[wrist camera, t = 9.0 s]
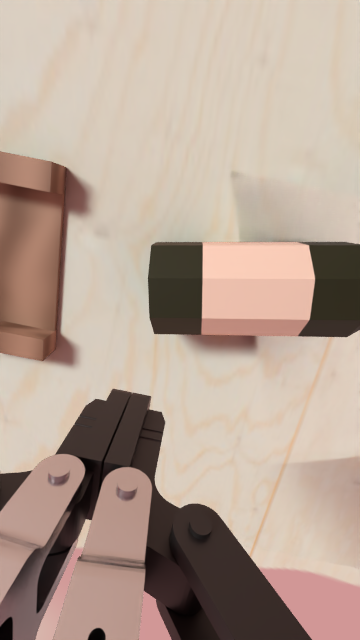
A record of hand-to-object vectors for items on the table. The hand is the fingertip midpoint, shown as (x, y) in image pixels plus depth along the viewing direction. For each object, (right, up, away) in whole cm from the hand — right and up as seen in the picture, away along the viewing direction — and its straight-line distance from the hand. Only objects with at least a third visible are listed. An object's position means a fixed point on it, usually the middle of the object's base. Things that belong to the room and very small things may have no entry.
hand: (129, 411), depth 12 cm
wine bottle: (0, +6, +16) cm, 17 cm away
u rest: (-16, +10, +20) cm, 27 cm away
